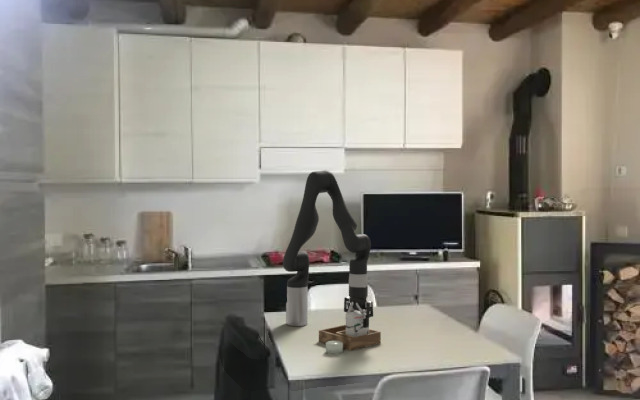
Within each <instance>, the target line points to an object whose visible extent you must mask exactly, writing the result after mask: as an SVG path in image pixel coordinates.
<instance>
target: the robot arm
mask: <svg viewBox="0 0 640 400" xmlns="http://www.w3.org/2000/svg"><path fill="white" fill-rule="evenodd" d="M324 193H327V194H328V196H329V198H330V199H331V203H332V216H333V220H334V222H335V224H336V226H337V227H338V229H339V230H340V233H341V236H342V237H341V238H342V241H343V244H344V247H345V248H346V250H347V251H348V252H349V253H353V254H355V256H354V257H353V258H351V259H350V260H349V268H348V269H349V274H348V296H345V297H344V299H343V312H344V313H345V314H346V313H348V312H354V311H355V310H357V311H360V313H361V314H362V315H363V317H364V318H363V327H364V328H367V327H368V326H369V327H370V318H373V317H374V302H373V301H372V300H371V301H368V299H367V300H366V298H367V296H368V294H369V291H368V290H369V289H368V288H369V286H368V284H369V282H368V281H369V280H368V278H369V277H368V261H369V257H370V253H371V249H372V243H371V239H370V237H369V236H368V235H367V234H363V233H362V234H360V233H358V234H356V233H355V231H356V230H357V227H358V225H357V222H356V220H355V218H354V216H353V215H352V213H351V212H350V210H349V209H348V207H347V204H346V201H345V200H344V197H343V194H342V191H341V189H340V187H339V184H338V181H337V179H336V177H335V175H334V173H333V172H331V171H330V170H326V169H325V170H318V171H312V172H310V173H309V174H308V175H307V178H306V182H305V186H304V193H303V196H302V197H303V198H302V200H301V201H302V202H301V205H300V208H299V212H298V215H297V217H296V221H295V225H294V227H293V228H294V229H293V232H292V235H291V238H290V241H289V243H288V246H287V248H286V250H285V253H284V255H283V261H282V266H283V269H284V270H285V271H286V272H289V273H292V272H293V273H294V272H296V274H295V275H293V276H292V277H291V278H289V279H287V282H286V283H287V284H286V298H287V299H286V300H287V301H286V303H285V312H286V313H285V319H286V320H285V323H286V324H287V326H291V327H303V326H307V325H308V319H309V318H308V315H309V313H308V312H309V311H308V307H309V305H308V303H309V302H308V283H309V274H310V256H309V254H308V253H307V251H306V250H301V248H302V247H303V246H304V245H305V244H306V243H307V242H308V241H309V240H310V239H311V238H312V237H313V236H314V235H315V232H316V231H317V227H318V225H319V221H320V220H319V219H320V216H319V213H318V210H317V207H316V203H317V199H318V196H319V194H324ZM364 309H365V310H364ZM365 313H366V314H365Z"/></svg>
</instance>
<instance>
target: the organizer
mask: <svg viewBox="0 0 640 400" xmlns="http://www.w3.org/2000/svg"><path fill="white" fill-rule="evenodd" d="M381 333H382V332H381V331H379V330H375V329H371V328H369V334H366V335H362V336H358V337H353V336H349V335H346V324H342V325H338V326H333V327H327V328H323V329H319V330H318V342H319V343H322V344H325V345H326V342H328V341H341V342H343V350H346V351H348V352H353V351H354V350H359V349H364V348H366V347H370V346H375V345H379V344H381V340H382V337H381V336H382V334H381Z"/></svg>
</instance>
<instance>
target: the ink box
mask: <svg viewBox="0 0 640 400" xmlns="http://www.w3.org/2000/svg"><path fill="white" fill-rule="evenodd" d="M365 314H366V313H365ZM363 318H364V317H363V315H362V314H361V313H360V311H356V312H348V313H346V312H345V325H346V335H349V336H353V337H358V336H362V335H366V334H369V329H370V325H369V326H368V327H367V328H364V327H363Z"/></svg>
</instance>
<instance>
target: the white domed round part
mask: <svg viewBox="0 0 640 400" xmlns="http://www.w3.org/2000/svg"><path fill="white" fill-rule="evenodd" d="M342 352H343V353H344V349H343V342H341V341H328V342H326V344H325V353H326V354H328V353H329V355H341V354H343V353H342Z"/></svg>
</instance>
